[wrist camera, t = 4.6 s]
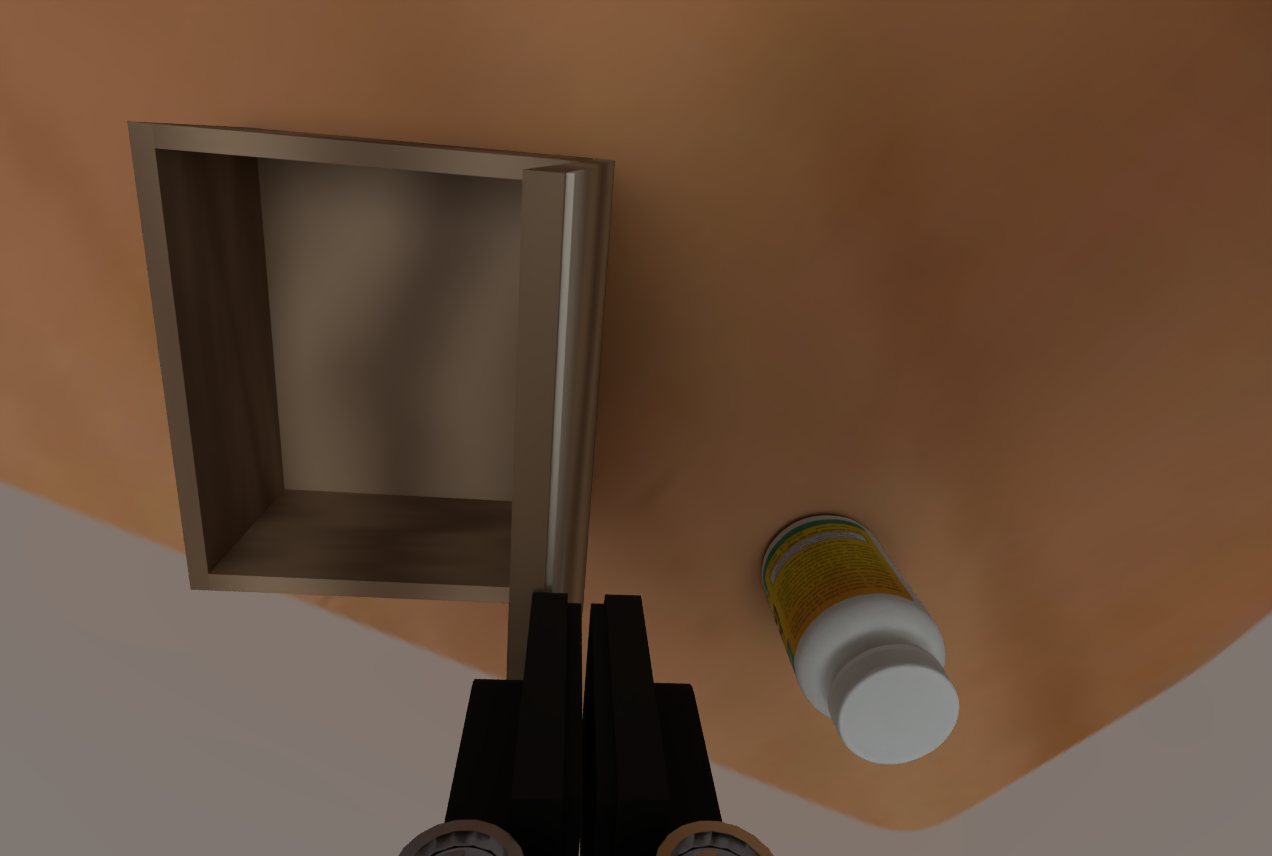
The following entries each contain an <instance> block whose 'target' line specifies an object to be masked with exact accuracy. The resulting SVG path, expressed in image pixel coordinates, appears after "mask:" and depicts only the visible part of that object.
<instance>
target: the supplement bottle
mask: <svg viewBox="0 0 1272 856" xmlns="http://www.w3.org/2000/svg"><path fill="white" fill-rule="evenodd" d="M762 584H763V588H764V592H765V595H766V597H767V600H768V603H769V605H770V608H771V610H772V613H773V616H774V619H775V621H776V624H777V626H778V629H779V632H780V635H781V637H782V640H783V643H784V645H785V648H786V651H787V654H788V656H789V659H790V662H791V664H792V667H793V670H794V672H795V675H796V678H797V681H798V683H799V685H800V687H801V689H802V691H803V693H804V695H805V696H806V698H807V699H808V700H809V702H810V703H811V704H812V705H813V706H814V707H815V708H816V709H817V710H819V711H820V712H821V713H823V714H824V715H826V716H827V717H829V718H831V719H832V720H833V722H834V724H835V726H836V728H837V730H838V733H839V735H840V737H841V738H842V740H843V742H844V743H845V745H846V746H847V747H848V748H849V749H850V750H851V751H852V752H853V753H854V754H856V755H857V756H859V757H860V758H862V759H865V760H867V761H870V762H874V763H879V764H900V763H905V762H909V761H913V760H915V759H918V758H920V757H922V756H924V755H926V754H928V753H930V752H931V751H933V750H934V749H936V748H937V747H938V746H939V745H940V744H942V743H943V742H944V740H945V739H946V738H947V737H948V736H949V734H950V733H951V731H952V730H953V728H954V726H955V724H956V721H957V718H958V714H959V700H958V695H957V692H956V690H955V688H954V686H953V684H952V682H951V681H950V679H949V678H948V676H947V674H946V673H945V670H944V665H945V646H944V641H943V638H942V635H941V633H940V630H939V628H938V627H937V625H936V623H935V621H934V620H933V618H932V617H931V616H930V614H929V613H928V611H927V610H926V608H925V607H924V605H923V604H922V603H921V601H920V600H919V599H918V597H917V596H916V594H915V593H914V592H913V590H912V589H911V587H910V586H909V585H908V583H907V582H906V581H905V579H904V578H903V576H902V575H901V573H900V572H899V570H898V569H897V568H896V566H895V565H894V563H893V562H892V560H891V559H890V558H889V556H888V555H887V553H886V552H885V550H884V549H883V548H882V546H881V544H880V543H879V542H878V541H877V539H876V538H875V537H874V536H873V535H872V533H871V532H870V531H869V530H867V529H866V528H865V527H864V526H863V525H861V524H859V523H858V522H856V521H854V520H852V519H849V518H845V517H840V516H830V515H820V516H812V517H808V518H804V519H802V520H800V521H797V522H795V523H793V524H792V525H790V526H788V527H787V528H786V529H784V530H783V531H782V532H781V533H780V534H779V535H778V536H777V537H776V538H775V539H774V540H773V542H772V543H771V544H770V546H769V548H768V550H767V552H766V554H765V557H764V560H763V565H762Z"/></svg>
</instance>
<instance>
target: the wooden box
mask: <svg viewBox="0 0 1272 856" xmlns="http://www.w3.org/2000/svg"><path fill="white" fill-rule="evenodd" d="M127 122H128V130H129V137H130V144H131V152H132V159H133V167H134V174H135V181H136V189H137V196H138V203H139V211H140V218H141V226H142V233H143V240H144V248H145V255H146V262H147V270H148V277H149V285H150V292H151V299H152V307H153V314H154V322H155V329H156V336H157V344H158V351H159V358H160V366H161V373H162V381H163V388H164V395H165V403H166V410H167V417H168V425H169V432H170V440H171V447H172V454H173V462H174V469H175V477H176V484H177V491H178V499H179V506H180V513H181V521H182V528H183V536H184V543H185V550H186V558H187V565H188V572H189V580H190V587H191V589H192V590H215V591H216V590H217V591H239V592H240V591H241V592H263V593H286V594H309V595H332V596H356V597H379V598H403V599H426V600H449V601H473V602H496V603H509V586H510V555H511V523H512V492H513V460H514V429H515V397H516V366H517V334H518V303H519V271H520V240H521V208H522V177H523V169H530V168H537V167H544V166H551V165H558V164H565V163H572V162H579V161H586V160H593V158H582V157H571V156H560V155H548V154H537V153H526V152H515V151H504V150H492V149H481V148H470V147H459V146H447V145H436V144H425V143H414V142H403V141H391V140H380V139H369V138H358V137H347V136H335V135H324V134H313V133H302V132H290V131H279V130H268V129H257V128H246V127H227V126H208V125H188V124H169V123H149V122H129V121H127Z"/></svg>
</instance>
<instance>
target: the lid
mask: <svg viewBox="0 0 1272 856" xmlns="http://www.w3.org/2000/svg"><path fill="white" fill-rule="evenodd" d="M614 166H615V161H612V160H601V159H593V160H586V161H579V162H572V163H565V164H558V165H551V166H544V167H537V168H530V169H523V177H522V208H521V240H520V271H519V303H518V334H517V366H516V397H515V429H514V460H513V492H512V523H511V555H510V586H509V618H508V649H507V680H523V677H524V668H525V658H526V649H527V639H528V630H529V621H530V611H531V602H532V593H533V592H546V593H568V603H581V614H582V612H583V602H584V588H585V574H586V560H587V546H588V531H589V517H590V503H591V489H592V475H593V461H594V447H595V433H596V419H597V405H598V391H599V377H600V363H601V349H602V335H603V320H604V306H605V292H606V278H607V264H608V250H609V236H610V222H611V208H612V194H613V180H614Z"/></svg>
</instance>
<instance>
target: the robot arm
mask: <svg viewBox="0 0 1272 856" xmlns="http://www.w3.org/2000/svg"><path fill="white" fill-rule="evenodd" d="M579 843H580V856H773V854H772V853H771V851H770V850H769V848H767V847H766V846H765V845H764V844H763V843H762V842H761V841H760V840H759V839H758V838H756V837H755V836H754V835H752V834H751V833H749V832H747V831H745V830H743V829H741V828H740V827H738V826H735V825H731V824H727V823H723V822H722V819H721V814H720V810H719V805H718V801H717V796H716V791H715V787H714V782H713V777H712V773H711V768H710V764H709V759H708V755H707V750H706V745H705V741H704V736H703V732H702V727H701V723H700V718H699V713H698V709H697V704H696V700H695V695H694V692H693V688H692V686H691V685H690V684H675V683H654V681H653V675H652V668H651V661H650V654H649V647H648V640H647V633H646V627H645V620H644V613H643V606H642V599H641V596H638V595H608V594H606V595H605V600H604V604H593V603H591V610H590V623H589V637H588V651H587V664H586V678H585V691H584V705H583V719H582V614H581V603H568V593H546V592H533V593H532V602H531V611H530V621H529V630H528V639H527V649H526V658H525V668H524V677H523V680H494V679H475V680H474V681H473V685H472V689H471V694H470V699H469V703H468V708H467V713H466V718H465V723H464V728H463V733H462V738H461V743H460V748H459V753H458V758H457V763H456V768H455V773H454V778H453V783H452V787H451V792H450V798H449V802H448V807H447V813H446V817H445V822H444V823H443V824H438V825H436V826H434V827H432V828H430V829H428V830H426V831H424V832H423V833H421V834H419V835H418V836H416V838H414V839H413V840H412V841H411V842H410V843H409V844H408V845H407V846H405V847H404V848H403V850H402V851H401V853H400V854H399V856H579Z"/></svg>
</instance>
